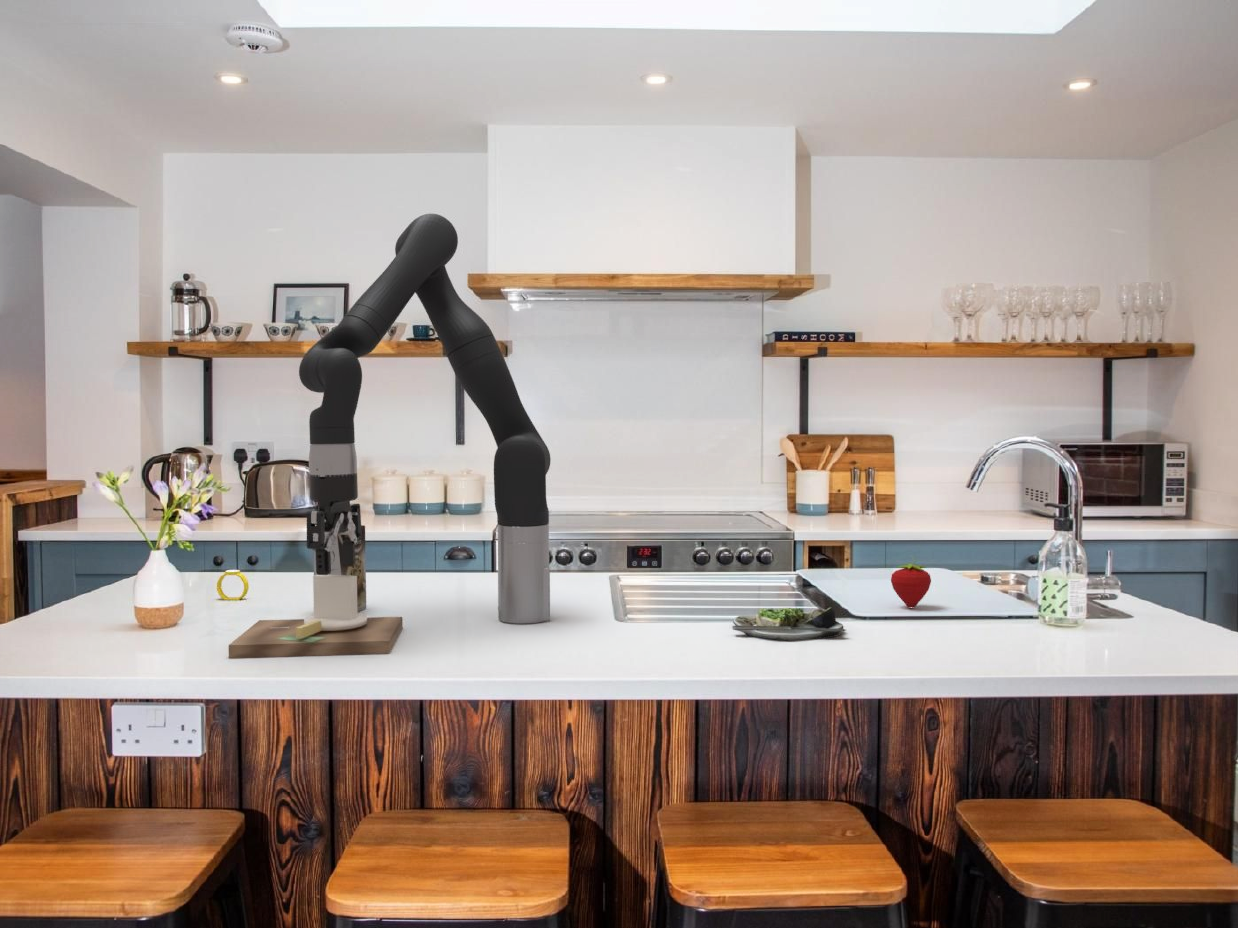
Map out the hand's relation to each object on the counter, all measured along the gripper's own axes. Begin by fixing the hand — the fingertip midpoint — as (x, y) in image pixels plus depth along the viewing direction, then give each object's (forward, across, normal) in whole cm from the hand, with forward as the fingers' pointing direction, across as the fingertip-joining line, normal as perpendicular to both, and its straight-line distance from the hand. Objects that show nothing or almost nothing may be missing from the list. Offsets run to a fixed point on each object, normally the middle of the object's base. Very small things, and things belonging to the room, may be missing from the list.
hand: (336, 570), depth 160 cm
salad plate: (+13, -21, +73) cm, 77 cm away
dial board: (+12, +2, -2) cm, 12 cm away
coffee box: (+12, -21, -10) cm, 26 cm away
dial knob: (+9, +2, -1) cm, 9 cm away
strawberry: (+13, -43, +95) cm, 105 cm away
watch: (+11, -29, -38) cm, 49 cm away
